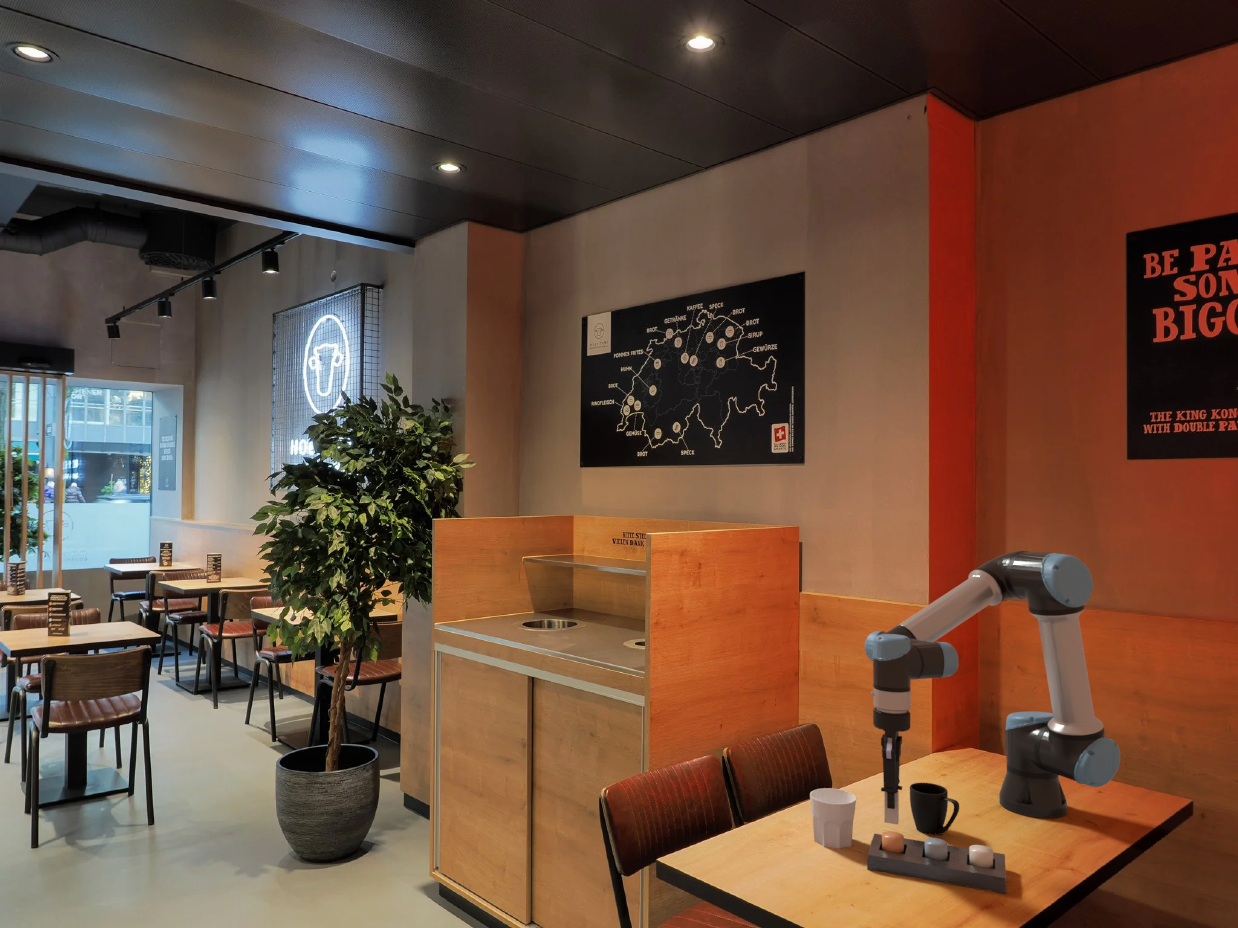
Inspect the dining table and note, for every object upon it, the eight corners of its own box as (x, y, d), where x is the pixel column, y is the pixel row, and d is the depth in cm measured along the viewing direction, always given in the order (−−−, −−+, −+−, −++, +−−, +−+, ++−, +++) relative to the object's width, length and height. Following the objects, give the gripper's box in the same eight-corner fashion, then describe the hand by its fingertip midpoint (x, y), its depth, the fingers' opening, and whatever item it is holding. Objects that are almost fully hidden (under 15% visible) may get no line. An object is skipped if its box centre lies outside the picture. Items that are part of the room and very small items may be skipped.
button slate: (948, 857, 174) (947, 839, 174) (947, 865, 170) (946, 847, 170) (925, 853, 176) (925, 836, 176) (924, 861, 172) (923, 844, 172)
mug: (944, 845, 185) (943, 802, 185) (902, 826, 195) (902, 785, 196) (969, 838, 189) (969, 795, 189) (927, 820, 199) (926, 780, 200)
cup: (857, 835, 190) (857, 791, 191) (855, 852, 181) (854, 806, 181) (812, 829, 194) (812, 786, 194) (807, 846, 184) (807, 800, 185)
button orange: (904, 850, 178) (904, 833, 178) (902, 858, 174) (902, 840, 174) (883, 846, 179) (883, 829, 180) (880, 854, 175) (880, 837, 176)
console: (1005, 868, 173) (1004, 853, 173) (1006, 893, 162) (1006, 877, 163) (874, 847, 184) (874, 833, 184) (867, 869, 173) (867, 854, 173)
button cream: (993, 864, 171) (992, 846, 171) (993, 873, 167) (993, 855, 167) (969, 860, 173) (969, 843, 173) (969, 869, 169) (969, 851, 169)
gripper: (876, 700, 185) (876, 809, 184) (869, 713, 173) (869, 829, 172) (912, 704, 182) (912, 814, 181) (907, 718, 170) (907, 836, 169)
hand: (891, 821), depth 177 cm, fingers closed
